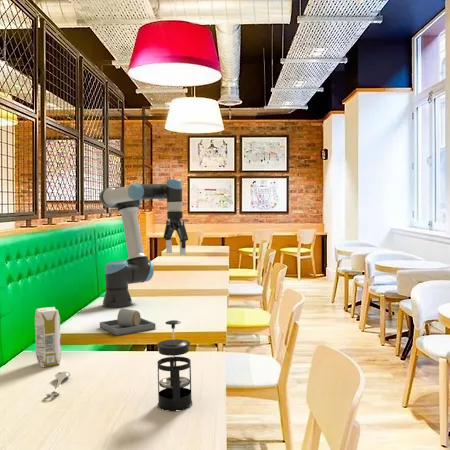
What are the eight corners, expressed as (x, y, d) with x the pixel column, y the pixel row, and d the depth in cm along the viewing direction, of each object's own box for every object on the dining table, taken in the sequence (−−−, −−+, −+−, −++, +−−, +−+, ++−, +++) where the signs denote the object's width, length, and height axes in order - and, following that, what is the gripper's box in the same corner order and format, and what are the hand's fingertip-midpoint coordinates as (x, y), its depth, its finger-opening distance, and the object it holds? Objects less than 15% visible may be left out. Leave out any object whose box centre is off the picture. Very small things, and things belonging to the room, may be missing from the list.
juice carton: (39, 368, 183) (37, 312, 182) (35, 362, 191) (33, 308, 190) (62, 365, 186) (60, 310, 185) (57, 358, 194) (55, 305, 193)
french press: (156, 399, 153) (154, 317, 152) (190, 396, 155) (188, 315, 154) (158, 415, 142) (156, 327, 140) (195, 412, 143) (192, 325, 142)
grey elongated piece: (58, 386, 154) (41, 387, 154) (59, 399, 154) (42, 400, 154) (71, 369, 174) (56, 369, 174) (72, 380, 174) (57, 381, 174)
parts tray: (99, 327, 240) (99, 322, 240) (137, 321, 250) (137, 316, 250) (116, 335, 225) (116, 329, 225) (155, 329, 235) (155, 323, 235)
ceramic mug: (134, 328, 234) (133, 311, 233) (117, 327, 236) (116, 310, 236) (144, 323, 244) (144, 306, 244) (128, 322, 246) (128, 305, 246)
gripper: (194, 210, 259) (195, 255, 260) (169, 210, 280) (170, 251, 281) (180, 211, 255) (182, 256, 256) (156, 210, 276) (157, 252, 277)
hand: (175, 254), depth 268 cm, fingers open, 13 cm apart
